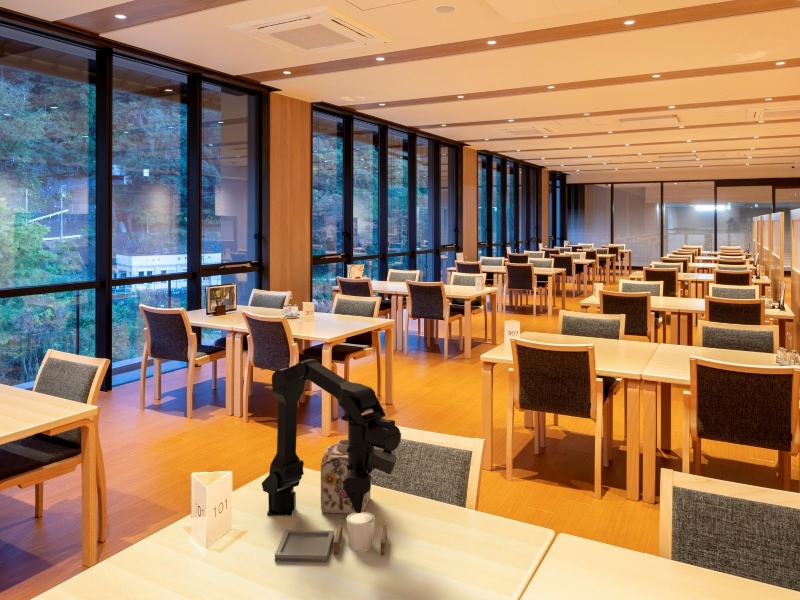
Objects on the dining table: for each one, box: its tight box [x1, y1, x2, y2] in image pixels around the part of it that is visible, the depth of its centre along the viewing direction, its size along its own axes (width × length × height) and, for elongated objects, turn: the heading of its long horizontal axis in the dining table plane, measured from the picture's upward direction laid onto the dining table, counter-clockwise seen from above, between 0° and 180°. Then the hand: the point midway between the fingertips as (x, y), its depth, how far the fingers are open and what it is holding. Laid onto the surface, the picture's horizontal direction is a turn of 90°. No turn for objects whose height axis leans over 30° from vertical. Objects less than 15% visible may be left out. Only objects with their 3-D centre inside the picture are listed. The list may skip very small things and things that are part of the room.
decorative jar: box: [320, 438, 371, 515], centre depth 177 cm, size 12×12×18 cm
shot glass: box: [346, 511, 376, 552], centre depth 156 cm, size 7×7×7 cm
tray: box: [274, 529, 335, 563], centre depth 154 cm, size 12×12×2 cm
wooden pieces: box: [332, 523, 388, 556], centre depth 156 cm, size 12×9×3 cm
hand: (360, 504), depth 155 cm, fingers open, 9 cm apart
